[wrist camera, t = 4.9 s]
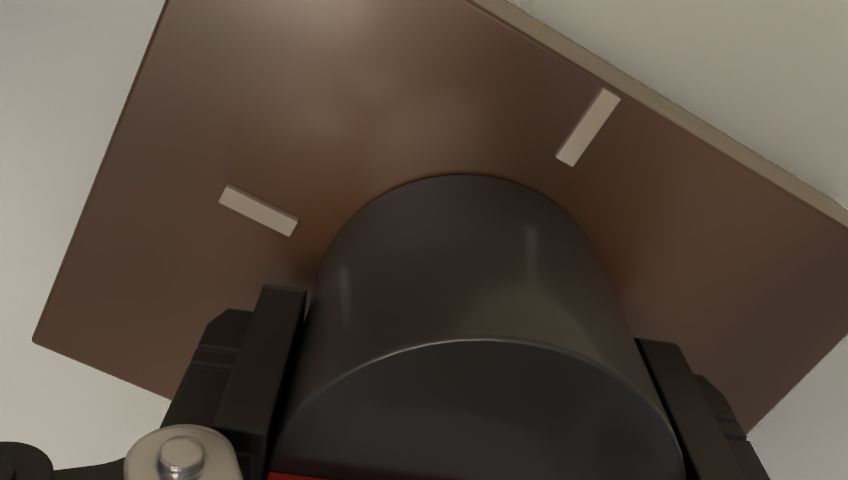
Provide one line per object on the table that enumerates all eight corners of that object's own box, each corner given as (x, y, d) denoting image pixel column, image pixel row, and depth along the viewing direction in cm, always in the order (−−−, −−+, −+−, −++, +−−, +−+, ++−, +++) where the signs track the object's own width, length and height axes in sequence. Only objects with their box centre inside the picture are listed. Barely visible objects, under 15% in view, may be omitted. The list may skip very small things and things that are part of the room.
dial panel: (837, 202, 17) (921, 272, 14) (578, 487, 21) (602, 586, 18) (264, -148, 13) (220, -150, 11) (90, 268, 17) (24, 347, 15)
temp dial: (643, 199, 13) (763, 389, 8) (564, 436, 16) (622, 683, 11) (330, 149, 13) (273, 319, 8) (301, 401, 15) (244, 642, 11)
